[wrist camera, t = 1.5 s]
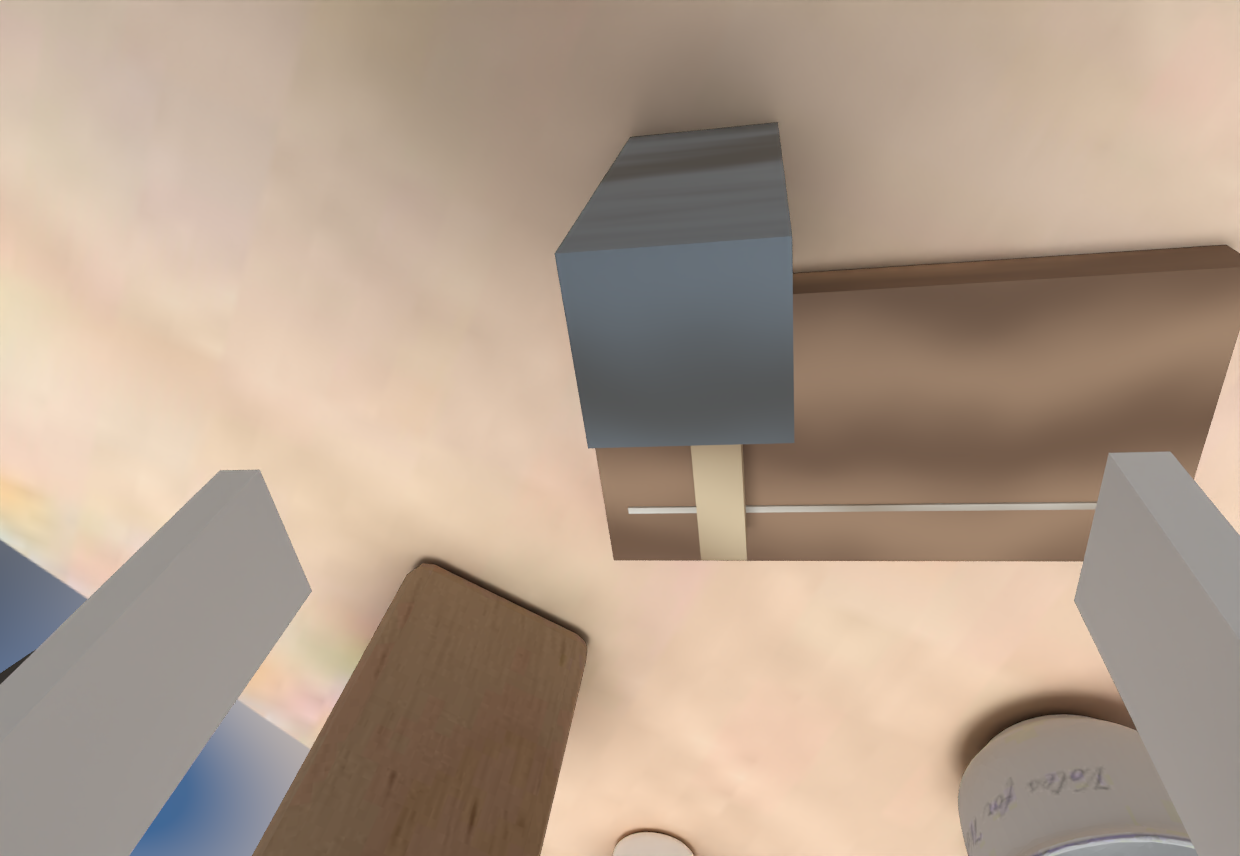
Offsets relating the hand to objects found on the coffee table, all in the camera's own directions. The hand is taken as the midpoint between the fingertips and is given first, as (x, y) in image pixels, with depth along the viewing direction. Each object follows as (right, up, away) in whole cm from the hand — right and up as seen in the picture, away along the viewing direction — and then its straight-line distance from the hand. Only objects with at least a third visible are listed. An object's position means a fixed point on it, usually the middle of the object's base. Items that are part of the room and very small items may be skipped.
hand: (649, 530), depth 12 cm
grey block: (+3, +5, +18) cm, 19 cm away
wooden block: (-8, -10, +30) cm, 32 cm away
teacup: (+21, -16, +28) cm, 39 cm away
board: (+10, +2, +19) cm, 21 cm away
